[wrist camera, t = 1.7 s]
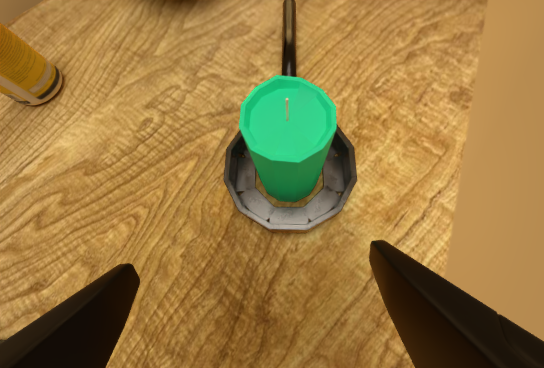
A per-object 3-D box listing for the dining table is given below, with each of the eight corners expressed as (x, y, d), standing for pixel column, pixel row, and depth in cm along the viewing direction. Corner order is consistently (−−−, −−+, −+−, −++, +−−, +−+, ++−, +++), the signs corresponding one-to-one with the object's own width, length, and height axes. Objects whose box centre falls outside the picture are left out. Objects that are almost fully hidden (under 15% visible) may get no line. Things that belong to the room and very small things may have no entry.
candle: (255, 155, 24) (224, 68, 13) (309, 143, 24) (326, 45, 13) (266, 208, 23) (241, 161, 11) (324, 195, 22) (359, 135, 11)
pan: (352, 234, 21) (362, 231, 18) (227, 231, 22) (218, 228, 19) (334, 15, 30) (339, -10, 27) (245, 21, 31) (240, -3, 28)
